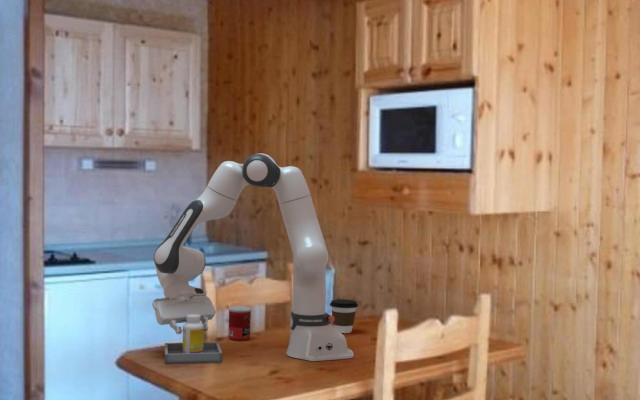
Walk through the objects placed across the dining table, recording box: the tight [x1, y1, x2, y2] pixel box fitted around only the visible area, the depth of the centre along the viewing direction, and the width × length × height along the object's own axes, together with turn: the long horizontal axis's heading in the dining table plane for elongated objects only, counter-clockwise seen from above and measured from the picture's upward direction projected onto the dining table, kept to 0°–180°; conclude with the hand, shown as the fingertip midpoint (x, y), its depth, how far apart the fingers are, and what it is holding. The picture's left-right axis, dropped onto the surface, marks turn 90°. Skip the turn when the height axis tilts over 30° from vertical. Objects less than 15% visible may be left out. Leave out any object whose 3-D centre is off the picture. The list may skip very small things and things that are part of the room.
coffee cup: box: [329, 298, 359, 334], centre depth 287 cm, size 11×11×12 cm
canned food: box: [227, 306, 252, 342], centre depth 270 cm, size 8×8×11 cm
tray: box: [164, 341, 223, 365], centre depth 241 cm, size 18×16×3 cm
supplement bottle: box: [182, 314, 205, 353], centre depth 241 cm, size 7×7×13 cm
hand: (192, 331), depth 241 cm, fingers open, 8 cm apart
